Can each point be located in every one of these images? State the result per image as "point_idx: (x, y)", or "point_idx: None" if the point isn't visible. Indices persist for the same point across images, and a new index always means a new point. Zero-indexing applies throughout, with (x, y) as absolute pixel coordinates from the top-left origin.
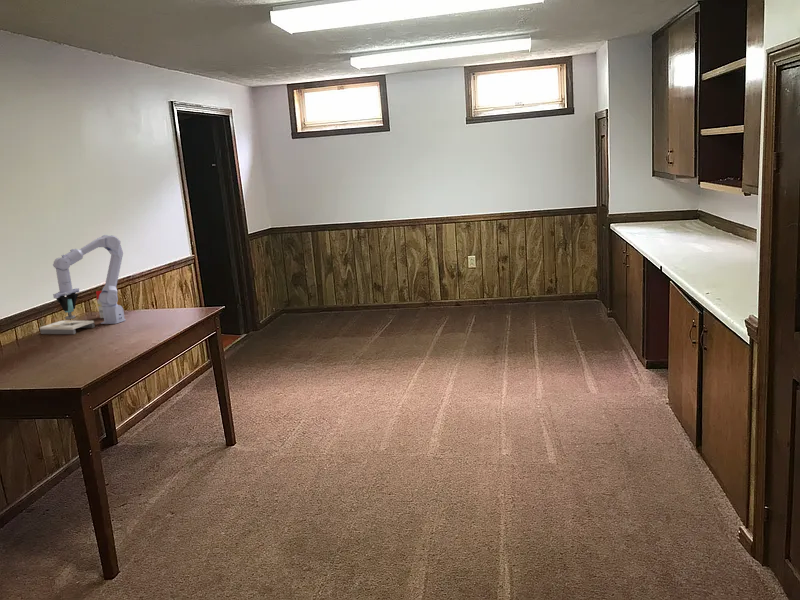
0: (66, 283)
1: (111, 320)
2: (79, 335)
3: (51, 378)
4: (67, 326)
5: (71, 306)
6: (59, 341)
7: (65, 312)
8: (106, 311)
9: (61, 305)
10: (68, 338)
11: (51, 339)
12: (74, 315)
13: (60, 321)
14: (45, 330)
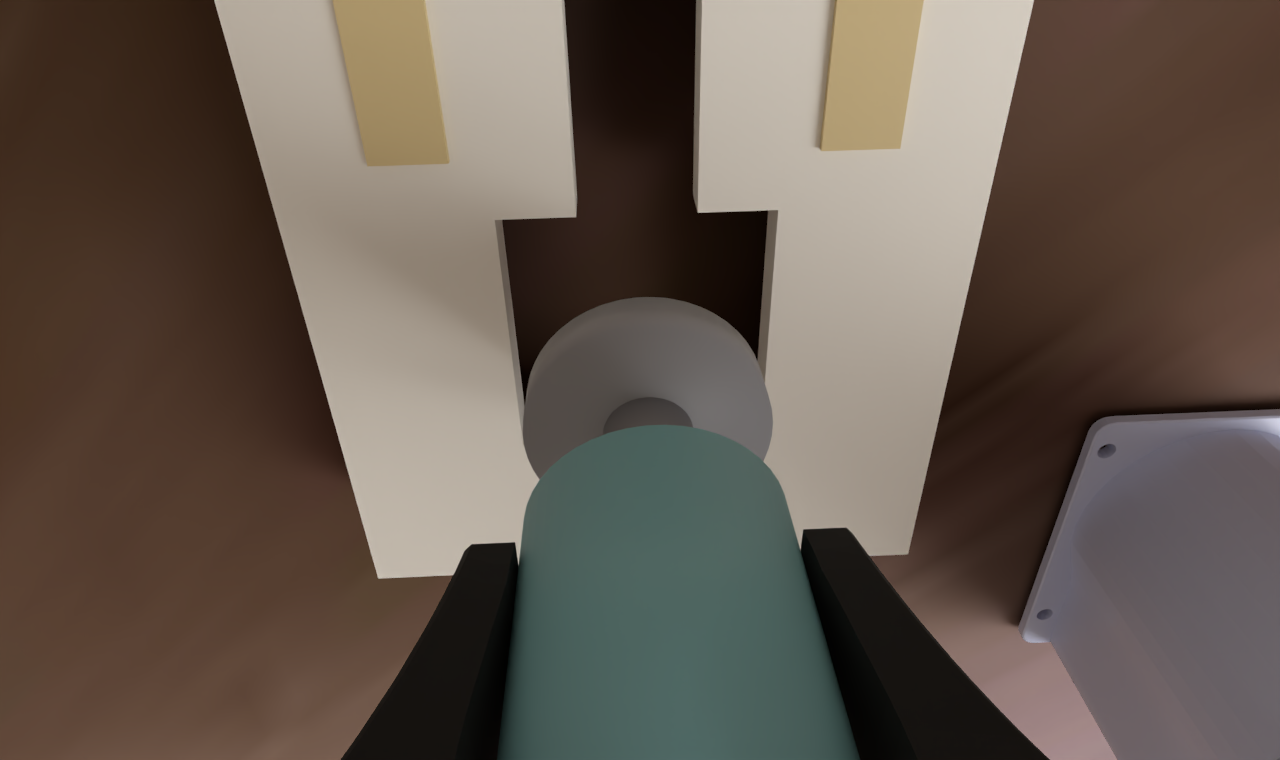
0: None
1: (1087, 606)
2: (370, 618)
3: None
4: (419, 428)
5: None
6: (22, 604)
7: (525, 510)
8: (1183, 707)
9: (378, 727)
10: (191, 599)
11: (15, 397)
12: (763, 458)
13: None
14: None
